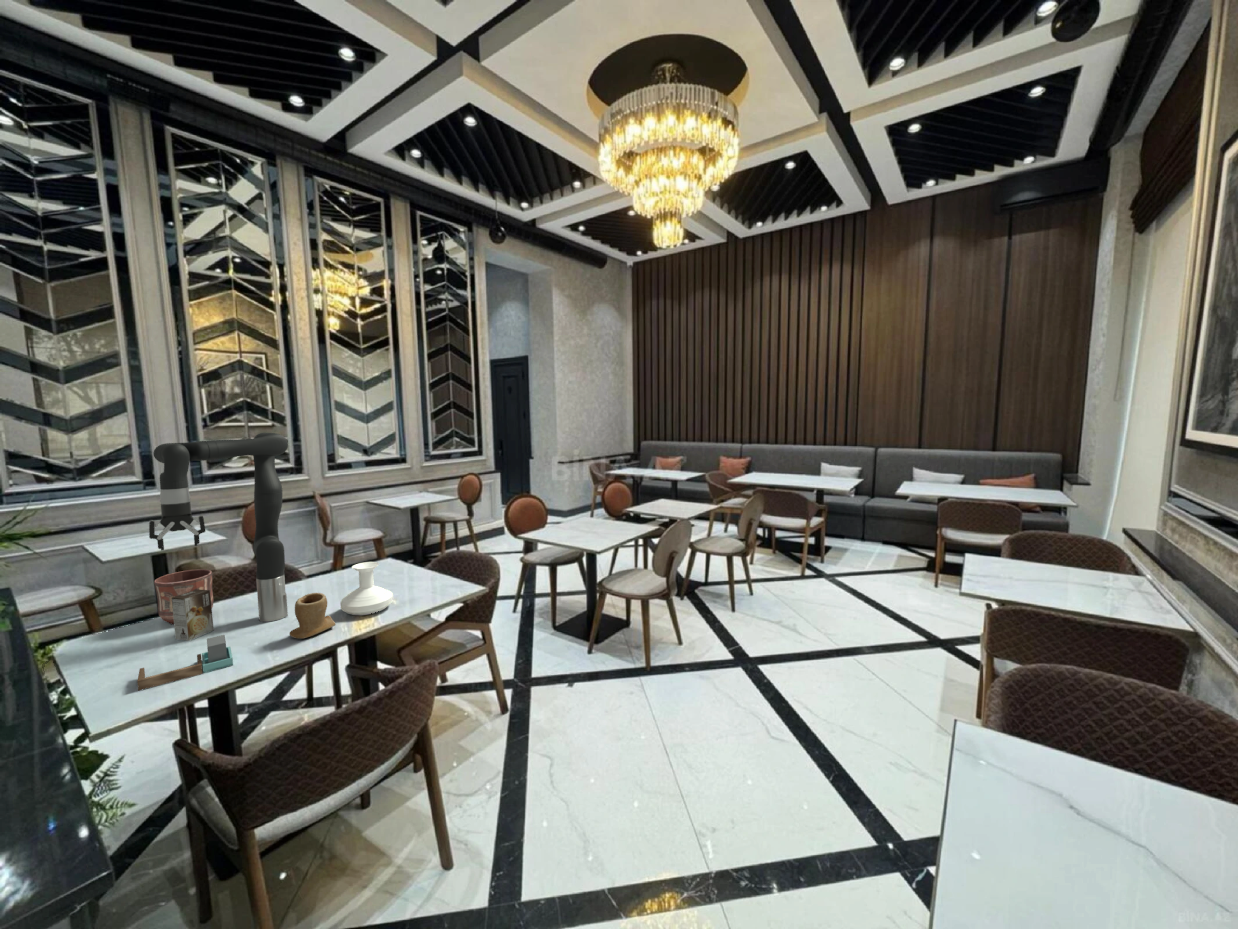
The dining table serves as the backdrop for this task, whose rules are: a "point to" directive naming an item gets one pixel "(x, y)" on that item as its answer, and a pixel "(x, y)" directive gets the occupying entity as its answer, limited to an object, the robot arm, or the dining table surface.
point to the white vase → (366, 593)
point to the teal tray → (217, 662)
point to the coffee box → (192, 614)
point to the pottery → (180, 589)
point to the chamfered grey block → (216, 648)
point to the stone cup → (311, 616)
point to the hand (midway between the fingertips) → (179, 547)
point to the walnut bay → (169, 675)
